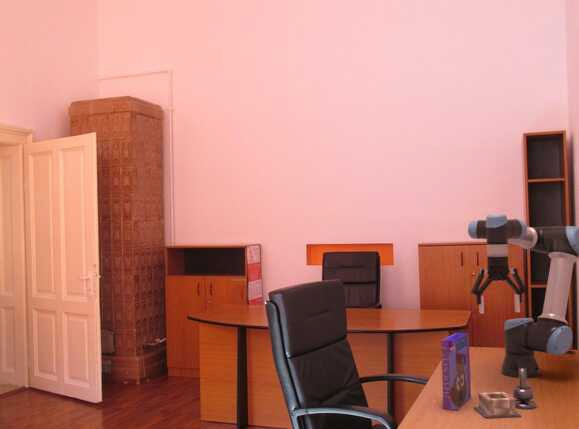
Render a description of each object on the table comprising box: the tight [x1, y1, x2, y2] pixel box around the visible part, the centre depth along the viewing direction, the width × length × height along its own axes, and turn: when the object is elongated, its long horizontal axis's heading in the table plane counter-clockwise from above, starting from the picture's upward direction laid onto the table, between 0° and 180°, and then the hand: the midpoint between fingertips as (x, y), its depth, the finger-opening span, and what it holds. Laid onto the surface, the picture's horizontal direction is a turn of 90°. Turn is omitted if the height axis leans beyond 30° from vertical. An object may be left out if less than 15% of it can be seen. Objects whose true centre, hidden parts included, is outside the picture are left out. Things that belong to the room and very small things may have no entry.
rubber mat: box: [473, 406, 522, 419], centre depth 206 cm, size 12×11×1 cm
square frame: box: [478, 391, 516, 416], centre depth 206 cm, size 9×9×5 cm
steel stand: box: [512, 368, 537, 410], centre depth 212 cm, size 8×8×13 cm
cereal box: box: [440, 331, 472, 412], centre depth 217 cm, size 17×5×24 cm, turn 148°
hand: (499, 312), depth 227 cm, fingers open, 13 cm apart
